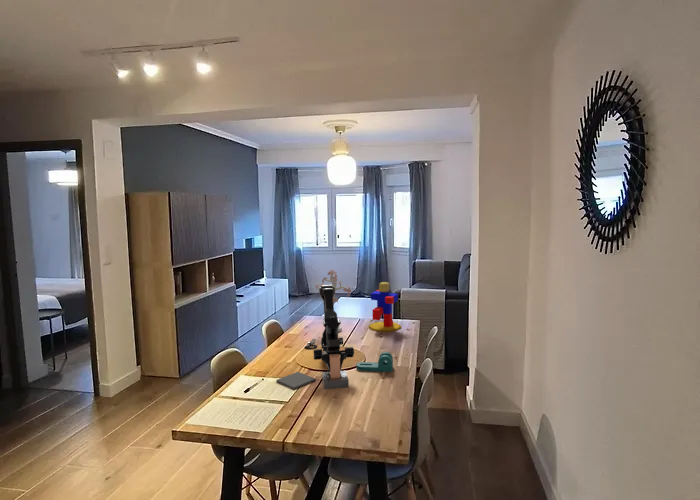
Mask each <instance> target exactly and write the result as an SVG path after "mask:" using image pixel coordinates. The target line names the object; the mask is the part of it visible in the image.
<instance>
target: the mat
mask: <svg viewBox="0 0 700 500" xmlns="http://www.w3.org/2000/svg"><path fill="white" fill-rule="evenodd" d="M316 379H317V378H315V377H314V376H309V375H307V374H305V373H303V372H299V371H296V372H294V373H291V374H289V375H286V376H283V377H280V378H278V379H276V380H275V381H276V383H278V384H281V385H283V386H285V387H287V388H289V389H291V390H297V389H299V388H301V387H304V386H307V385H309V384H312V383H314V382H316V381H317V380H316Z"/></svg>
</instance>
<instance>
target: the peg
mask: <svg viewBox="0 0 700 500" xmlns="http://www.w3.org/2000/svg"><path fill="white" fill-rule="evenodd" d="M329 357H330V361H329V363H330V371H329V372H330V379H333V378H340V355H339V354H331V355H329Z"/></svg>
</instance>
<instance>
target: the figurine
mask: <svg viewBox="0 0 700 500" xmlns="http://www.w3.org/2000/svg"><path fill="white" fill-rule="evenodd" d="M390 289H391V288H390V282H388V281H387V282H386V281H382V282H380V283H379V284H378V289H376V290H375V291H373V292H371V293H370V300H371V301H376V304H377V305H376V307H374V308H373V309H372V320H374V321H379V322H373V323H371V324H369V325H368V329H369V330H371V331H372V332H377V333H378V332H379V333H393V332H397V331H400V330H401V329H402V326H401V325H400V324H399V323H397V322H394V321H393V304H395V303H397V302H398V301H399V293H392V292H391V293H389V292H390ZM382 316H383V321H381V318H382Z"/></svg>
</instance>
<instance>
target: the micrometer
mask: <svg viewBox="0 0 700 500" xmlns="http://www.w3.org/2000/svg"><path fill="white" fill-rule="evenodd" d="M316 341H317V340H316V339H315V338H312V339H311V340H310V341H307V342H308V343H306V345H305V346H304V349H307V350H315V349H318V348H319V347H318V345H316V344H314V343H315V342H316ZM317 347H318V348H317Z"/></svg>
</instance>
